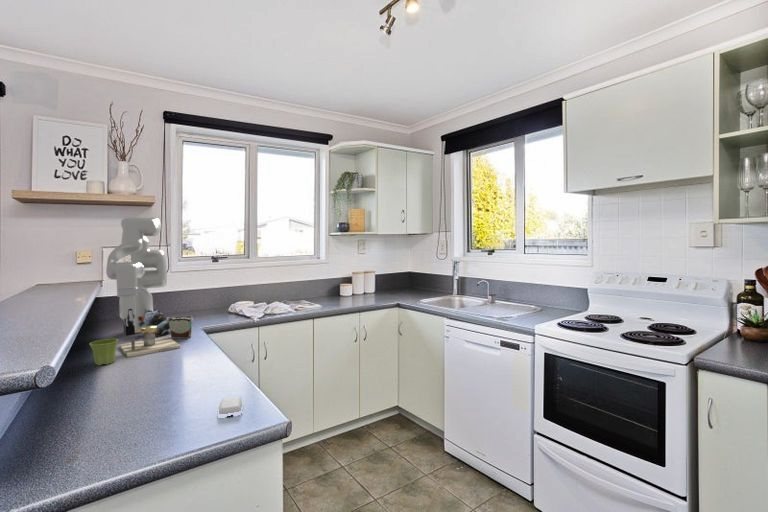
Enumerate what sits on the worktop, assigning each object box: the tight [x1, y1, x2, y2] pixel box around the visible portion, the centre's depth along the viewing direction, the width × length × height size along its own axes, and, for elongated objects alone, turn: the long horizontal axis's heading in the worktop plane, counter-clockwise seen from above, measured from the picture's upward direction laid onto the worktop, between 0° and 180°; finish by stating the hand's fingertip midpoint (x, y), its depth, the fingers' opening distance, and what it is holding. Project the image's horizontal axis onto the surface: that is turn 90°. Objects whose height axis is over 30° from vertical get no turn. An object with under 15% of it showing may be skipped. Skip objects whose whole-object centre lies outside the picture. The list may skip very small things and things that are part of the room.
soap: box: [218, 396, 243, 414], centre depth 115 cm, size 9×7×3 cm
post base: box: [119, 332, 181, 358], centre depth 181 cm, size 20×20×7 cm
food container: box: [168, 314, 194, 339], centre depth 200 cm, size 12×6×10 cm, turn 84°
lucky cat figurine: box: [138, 309, 170, 337], centre depth 207 cm, size 15×12×14 cm
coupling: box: [123, 320, 157, 336], centre depth 179 cm, size 12×9×6 cm
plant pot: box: [88, 338, 119, 366], centre depth 159 cm, size 9×9×9 cm
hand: (129, 333), depth 176 cm, fingers open, 4 cm apart
